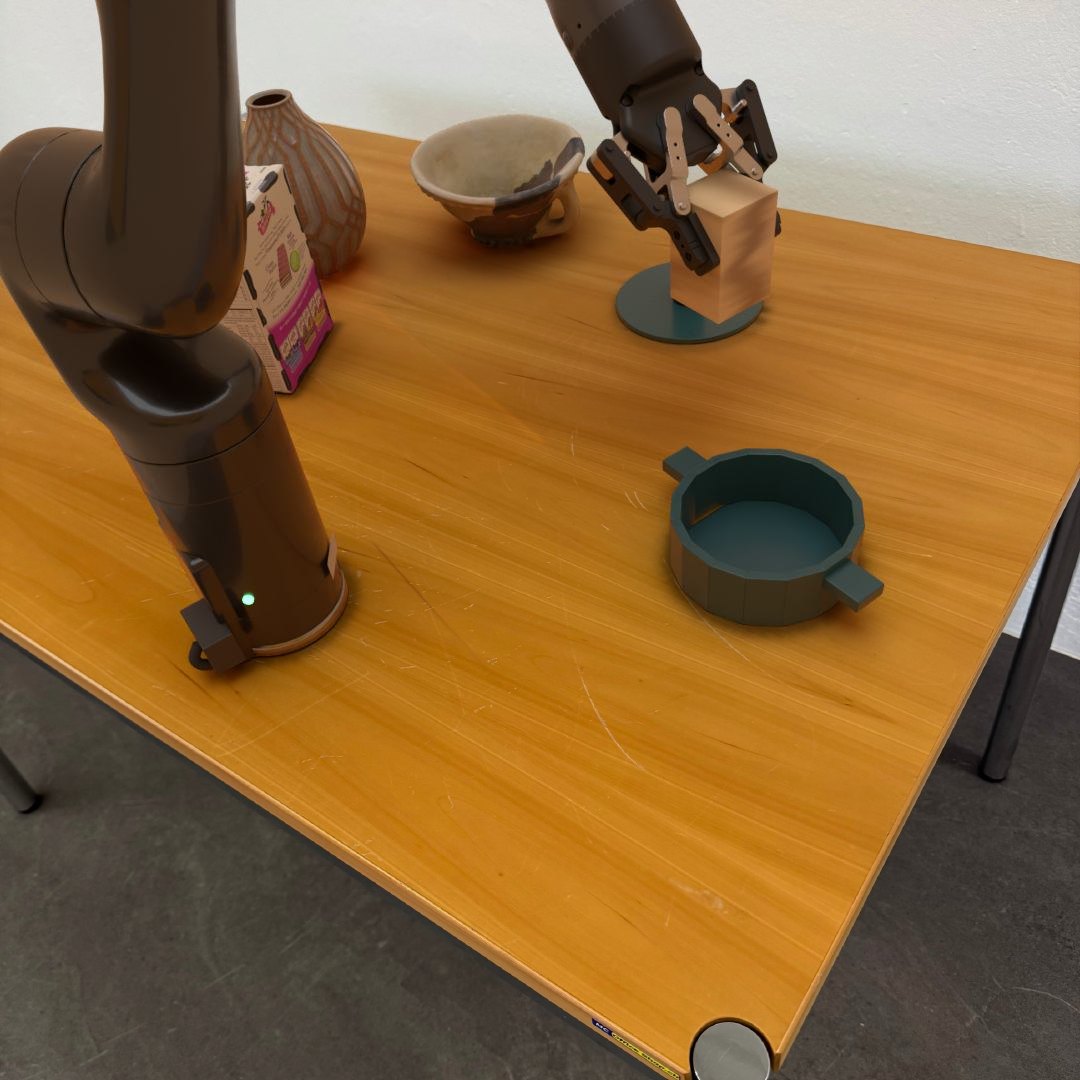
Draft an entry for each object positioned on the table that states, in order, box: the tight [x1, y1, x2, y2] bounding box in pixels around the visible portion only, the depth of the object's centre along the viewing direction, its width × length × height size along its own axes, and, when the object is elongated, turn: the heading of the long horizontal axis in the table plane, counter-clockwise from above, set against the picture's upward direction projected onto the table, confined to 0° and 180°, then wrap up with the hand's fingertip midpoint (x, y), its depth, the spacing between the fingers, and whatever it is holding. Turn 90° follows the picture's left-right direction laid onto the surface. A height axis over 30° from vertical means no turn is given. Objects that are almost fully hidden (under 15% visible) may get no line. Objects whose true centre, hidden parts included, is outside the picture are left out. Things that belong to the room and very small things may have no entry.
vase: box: [242, 88, 367, 281], centre depth 95 cm, size 13×13×18 cm
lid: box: [615, 261, 764, 345], centre depth 86 cm, size 14×14×7 cm
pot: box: [662, 445, 885, 627], centre depth 64 cm, size 12×18×5 cm
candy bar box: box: [219, 164, 335, 394], centre depth 83 cm, size 11×5×16 cm, turn 168°
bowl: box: [409, 113, 586, 249], centre depth 98 cm, size 18×18×10 cm
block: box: [669, 167, 779, 324], centre depth 65 cm, size 5×5×8 cm
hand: (740, 253), depth 64 cm, fingers closed on block, 5 cm apart
